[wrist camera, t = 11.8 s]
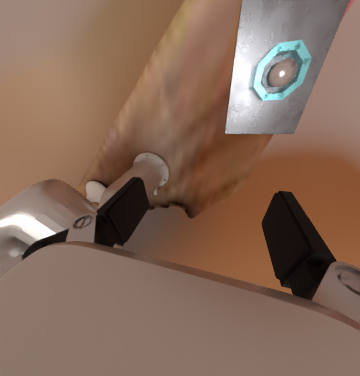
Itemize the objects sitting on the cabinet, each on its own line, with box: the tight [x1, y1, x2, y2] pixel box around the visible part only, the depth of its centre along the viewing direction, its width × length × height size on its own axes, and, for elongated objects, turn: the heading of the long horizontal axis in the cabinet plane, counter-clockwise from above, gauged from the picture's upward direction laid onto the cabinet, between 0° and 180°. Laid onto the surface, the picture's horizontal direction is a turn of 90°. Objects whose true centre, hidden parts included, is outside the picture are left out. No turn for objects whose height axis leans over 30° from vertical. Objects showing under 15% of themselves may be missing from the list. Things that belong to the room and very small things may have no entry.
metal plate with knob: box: [225, 0, 350, 134], centre depth 22 cm, size 20×14×7 cm
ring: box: [250, 40, 312, 101], centre depth 23 cm, size 7×7×4 cm
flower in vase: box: [86, 181, 107, 202], centre depth 49 cm, size 13×11×25 cm
